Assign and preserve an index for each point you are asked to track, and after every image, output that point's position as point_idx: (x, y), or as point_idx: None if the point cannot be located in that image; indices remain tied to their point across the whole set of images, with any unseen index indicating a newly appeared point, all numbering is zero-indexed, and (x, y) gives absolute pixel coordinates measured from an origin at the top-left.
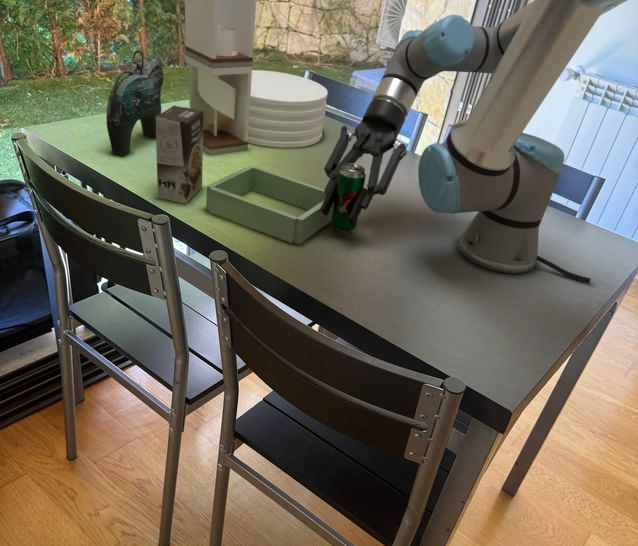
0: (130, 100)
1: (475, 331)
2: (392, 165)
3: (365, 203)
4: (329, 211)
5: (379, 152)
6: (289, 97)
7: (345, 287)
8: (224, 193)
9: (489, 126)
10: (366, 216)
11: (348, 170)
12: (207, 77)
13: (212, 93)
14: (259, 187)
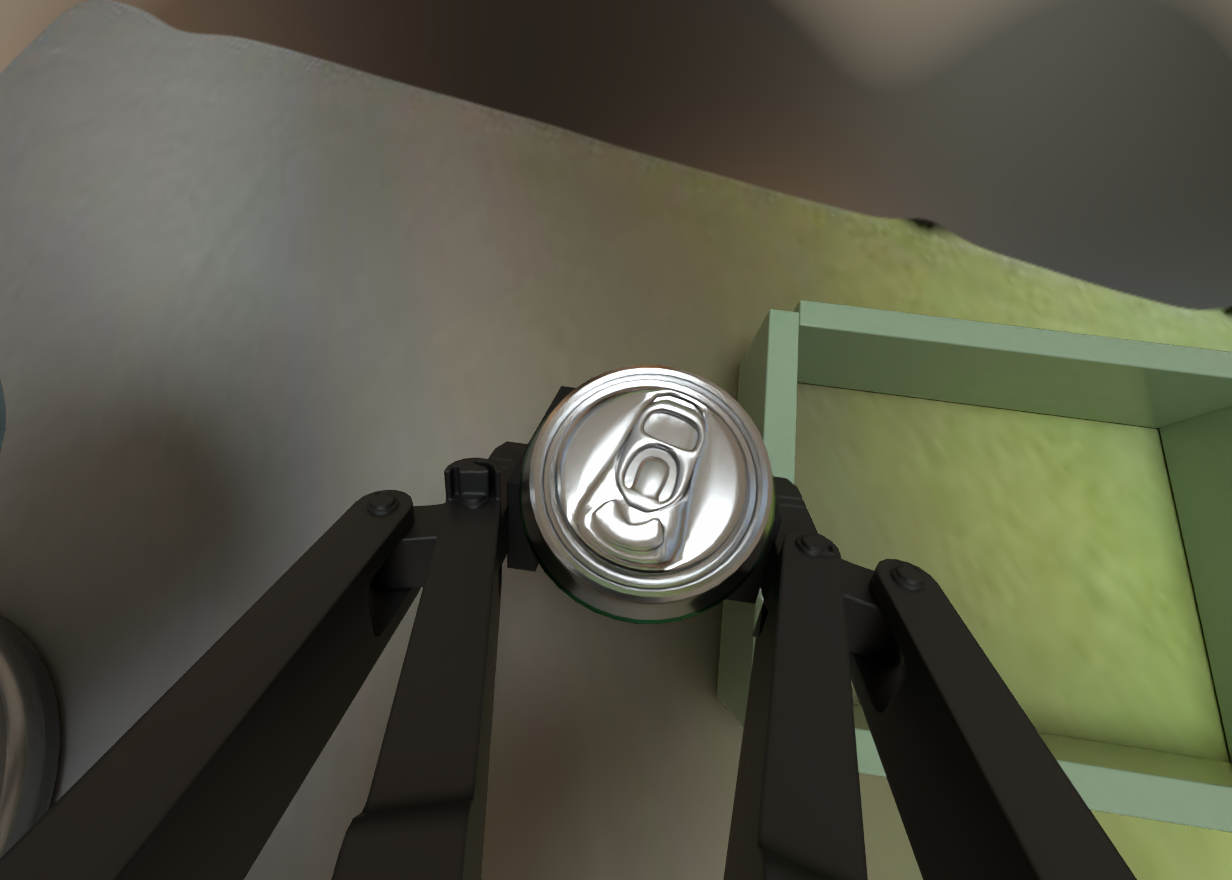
0: None
1: (110, 189)
2: (178, 693)
3: (502, 449)
4: (737, 610)
5: (341, 849)
6: None
7: (506, 207)
8: (1200, 349)
9: None
10: (581, 846)
11: (670, 393)
12: None
13: None
14: (1213, 764)
